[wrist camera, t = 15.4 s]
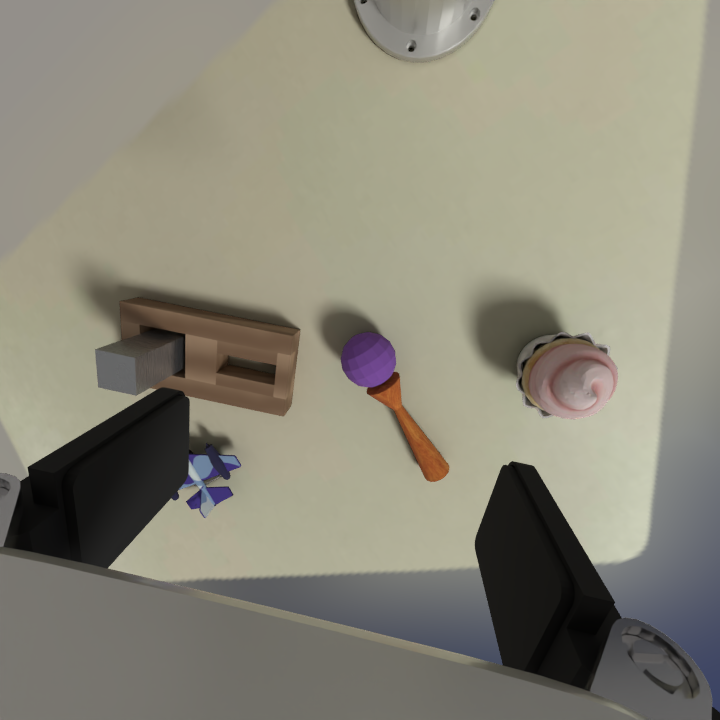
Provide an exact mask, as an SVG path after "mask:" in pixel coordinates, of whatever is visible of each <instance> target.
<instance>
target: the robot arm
mask: <svg viewBox="0 0 720 720" xmlns="http://www.w3.org/2000/svg"><path fill="white" fill-rule="evenodd" d="M363 1H366V3H365V4H362V2H363ZM494 1H495V0H354V4H355V7H356V10H357V13H358V16H359V19H360V21H361V23H362V25H363V27H364V29H365V31H366V32H367V34H368V35H369V37H370V38H371V39H372V40H373V41H374V43H375V44H376V45H377V46H378V47H380V48H381V49H382V50H383V51H385V52H386V53H387V54H389V55H391V56H393V57H395V58H397V59H399V60H404V61H408V62H429V61H433V60H437V59H440V58H442V57H444V56H446V55H448V54H451V53H453V52H454V51H455V50H457V49H458V48H459V47H461V46H462V45H463V44H465V43H466V42H467V41H468V40H469V39H470V38H471V37H472V36H473V35H474V33H475V32H476V31H477V30H478V29H479V27H480V26H481V24H482V23H483V21H484V20H485V18H486V17H487V15H488V13H489V11H490V9H491V7H492V5H493V3H494ZM473 17H474V18H475V19H476V21H473V20H471V18H473ZM410 48H413V49H414V51H413V52H409V51H408V50H409V49H410ZM189 406H190V402H189V398H188V397H185V394H184V392H183V391H180V390H175V389H171V388H166V387H161V388H159V389H157V390H156V391H154V392H152V393H151V394H149V395H147V396H146V397H144V398H142V399H141V400H139V401H137V402H136V403H134V404H132V405H131V406H129V407H127V408H126V409H124V410H122V411H121V412H119V413H117V414H116V415H114V416H112V417H111V418H109V419H107V420H106V421H104V422H102V423H101V424H99V425H97V426H96V427H94V428H92V429H91V430H89V431H87V432H86V433H84V434H82V435H81V436H79V437H77V438H76V439H74V440H72V441H71V442H69V443H67V444H66V445H64V446H62V447H61V448H59V449H57V450H56V451H54V452H52V453H51V454H49V455H47V456H46V457H44V458H42V459H41V460H39V461H37V462H36V463H34V464H32V465H31V466H29V467H28V472H29V476H28V477H26V478H25V479H24V480H22V481H20V480H19V479H17V477H15V476H13V475H10V474H6V473H0V720H720V713H719V712H718V711H717V710H716V709H715V708H713V707H712V696H711V691H710V686H709V684H708V682H707V681H706V679H705V677H704V675H703V673H702V671H701V670H700V669H699V668H698V666H697V665H696V664H695V662H694V661H693V660H692V658H691V657H690V656H689V655H688V654H687V653H686V652H685V651H684V650H683V649H682V648H681V647H680V646H679V645H678V644H677V643H675V642H674V641H673V640H671V639H670V638H669V637H668V636H666V635H665V634H664V633H662V632H661V631H659V630H657V629H656V628H654V627H652V626H651V625H649V624H646V623H644V622H642V621H639V620H637V619H631V618H621V616H620V614H619V613H618V611H617V609H616V608H615V606H614V603H615V602H614V600H613V598H612V596H611V595H610V593H609V591H608V590H607V588H606V586H605V585H604V583H603V582H602V580H601V578H600V576H599V575H598V573H597V572H596V569H595V568H594V566H593V564H592V563H591V561H590V559H589V558H588V556H587V554H586V553H585V551H584V549H583V548H582V546H581V544H580V543H579V541H578V539H577V537H576V536H575V534H574V532H573V531H572V529H571V527H570V526H569V524H568V522H567V521H566V519H565V517H564V516H563V514H562V512H561V511H560V509H559V507H558V506H557V504H556V502H555V501H554V499H553V497H552V495H551V494H550V492H549V490H548V489H547V487H546V485H545V484H544V482H543V480H542V479H541V477H540V475H539V474H538V472H537V470H536V469H535V467H534V466H532V465H527V464H523V463H518V462H513V461H512V462H510V463H509V465H508V466H507V465H503V466H502V468H501V470H500V473H499V476H498V478H497V481H496V484H495V486H494V489H493V492H492V494H491V497H490V500H489V503H488V505H487V508H486V511H485V513H484V516H483V519H482V522H481V524H480V527H479V530H478V532H477V535H476V539H475V551H476V555H477V559H478V563H479V568H480V571H481V576H482V580H483V584H484V588H485V592H486V596H487V601H488V605H489V609H490V613H491V617H492V622H493V626H494V630H495V634H496V638H497V642H498V646H499V651H500V655H501V659H502V663H503V665H499V664H495V663H492V662H488V661H484V660H480V659H477V658H473V657H469V656H466V655H462V654H457V653H454V652H449V651H446V650H442V649H438V648H434V647H430V646H426V645H421V644H418V643H413V642H410V641H406V640H401V639H397V638H393V637H389V636H385V635H381V634H377V633H373V632H369V631H365V630H361V629H357V628H353V627H349V626H345V625H341V624H337V623H333V622H328V621H325V620H321V619H317V618H312V617H308V616H304V615H300V614H296V613H292V612H287V611H284V610H279V609H275V608H271V607H267V606H263V605H259V604H254V603H250V602H246V601H242V600H238V599H234V598H229V597H225V596H221V595H217V594H213V593H209V592H205V591H201V590H196V589H192V588H187V587H183V586H179V585H175V584H171V583H167V582H162V581H158V580H154V579H150V578H145V577H141V576H137V575H133V574H128V573H124V572H120V571H116V570H111V569H107V568H108V567H109V566H110V565H111V564H112V563H113V562H114V561H115V559H116V558H117V557H118V556H119V555H120V554H121V553H122V552H123V551H124V549H125V548H126V547H127V546H128V545H129V544H130V543H131V542H132V541H133V539H134V538H135V537H136V536H137V535H138V534H139V533H140V532H141V531H142V530H143V528H144V527H145V526H146V525H147V524H148V523H149V522H150V521H151V520H152V518H153V517H154V516H155V515H156V514H157V513H158V512H159V511H160V510H161V509H162V507H163V506H164V505H165V504H166V503H167V502H168V501H169V500H170V499H171V497H172V496H173V495H174V494H175V493H176V492H177V491H178V490H179V489H180V488H181V486H182V485H183V484H184V483H185V481H186V479H187V477H188V473H189Z"/></svg>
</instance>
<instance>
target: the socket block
mask: <svg viewBox="0 0 720 720" xmlns="http://www.w3.org/2000/svg"><path fill="white" fill-rule="evenodd" d="M120 318H121V336H122V340H124V339H127V338H130V337H133V336H135V335H138V334H141V333H144V332H147V331H150V330H153V329H156V328H159V329H164V330H168V331H173V332H178V333H183V334H186V338H185V368H184V369H182V370H180V371H178V372H177V373H175V374H173V375H171V376H170V377H168V378H166V379H164V380H163V381H161V382H159V383H157V384H156V385H154V386H152V387H150V388H153V389H159V388H161V387H166V388H171V389H175V390H180V391H183V392H184V394H185V396H190V397H195V398H200V399H204V400H209V401H214V402H218V403H223V404H228V405H232V406H237V407H242V408H246V409H251V410H256V411H260V412H265V413H270V414H274V415H279V416H284V415H285V414H286V412H287V411H288V410H289V408H290V407H291V404H292V395H293V387H294V379H295V370H296V362H297V354H298V346H299V337H300V330H299V329H294V328H289V327H284V326H279V325H274V324H269V323H264V322H259V321H254V320H249V319H244V318H239V317H234V316H229V315H224V314H219V313H214V312H209V311H204V310H199V309H194V308H189V307H184V306H179V305H174V304H169V303H164V302H159V301H154V300H149V299H144V298H139V297H138V298H133V299H128V300H123V301H120ZM229 356H234V357H239V358H244V359H248V360H253V361H258V362H263V363H268V364H273V365H276V374H271V373H266V372H261V371H256V370H252V369H247V368H242V367H237V366H232V365H228V359H229Z"/></svg>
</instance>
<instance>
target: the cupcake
mask: <svg viewBox="0 0 720 720" xmlns="http://www.w3.org/2000/svg"><path fill="white" fill-rule="evenodd" d="M609 354H610V346H608V345H602V344H595V342H594V340H593V338H592V335H591V334H590V333H583V334H579V335H576V336H571V335H569V334H568V333H564V332H560V333H559V334H557V335H545V336H541V337H538V338H536V339H534V340H532V341H531V342H529V343H528V344H527V345H526V346H525V347H524V348H523V349H522V351H521V352H520V354H519V357H518V360H517V372H518V378H517V383H516V387H517V389H518V390H519V391H520V392H521V393H523V405H524V406H526V407H528V408H536V409H537V411H538V413H539V415H540V416H541V417H542V418H548V417H551V416H557V417H561V418H564V419H579V418H584V417H588V416H591V415H594V414H596V413H597V412H598V411H600V410H601V409H602V408H603V407H604V406H605V404H606V403H607V401H608V400H609V399H610V398H611V397H612V395H613V393H614V392H615V389H616V386H617V380H618V373H617V369H618V368H617V367H616V365H615V364H614V362H613V361H612V360H611V358H610V357H609Z"/></svg>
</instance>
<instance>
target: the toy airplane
mask: <svg viewBox="0 0 720 720" xmlns="http://www.w3.org/2000/svg"><path fill="white" fill-rule="evenodd" d="M205 451H206V453H207V454H193V453H192V451H191V450H190V449H189V473H188V477H187V479H186V481H185V483H184V484H183V485H182V486H181V488H180V489H183V488H185V487H188V486H191V485H194V484H195V485H194V486H198V488H199V489H200V490H199V491H198V492H197V493H196V494H195V495H193V496H192V497H191V498H190V499H189V500H187V501H186V502H187V504H188V505H189V507H190V508H191V509H197V508H200V513H201V514H202V515H203V517H204V518H206V517H207V516H208V514H209V513H210V511H211V510H212V509H213V507H214V506H216V504H218V503H220V502H221V501H223V500H225V499H227V498H229V497H231V496H233V493H232V492H231V490H230V488H229V487H207V486H206V485H207V484H208V483H210V482H212V481H214V480H216V479H217V478H219V477H223V478H224V479H225V480H228V479H229V478H230V473H229V471H231V470H234V469H237V468H239V467H240V466H241V464H240V462H239V461H238V459H237V457H236V456H235V455H220V454H219V452H218V451H217V450H216V449H215V448H214V447H213V445H212V444H211V445H208V444H207V443H206V448H205ZM217 475H219V476H218V477H217V478H215V479H213V480H211V481H209V482H208V483H206V484H205V483H204V481H203V480H206V479H209V478H211V477H214V476H217ZM180 489H179V490H180ZM171 498H172V499H173V500H177V499H178V498H179V494H178V492H176V493H175V494H174V495H173V496H172V497H171Z"/></svg>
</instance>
